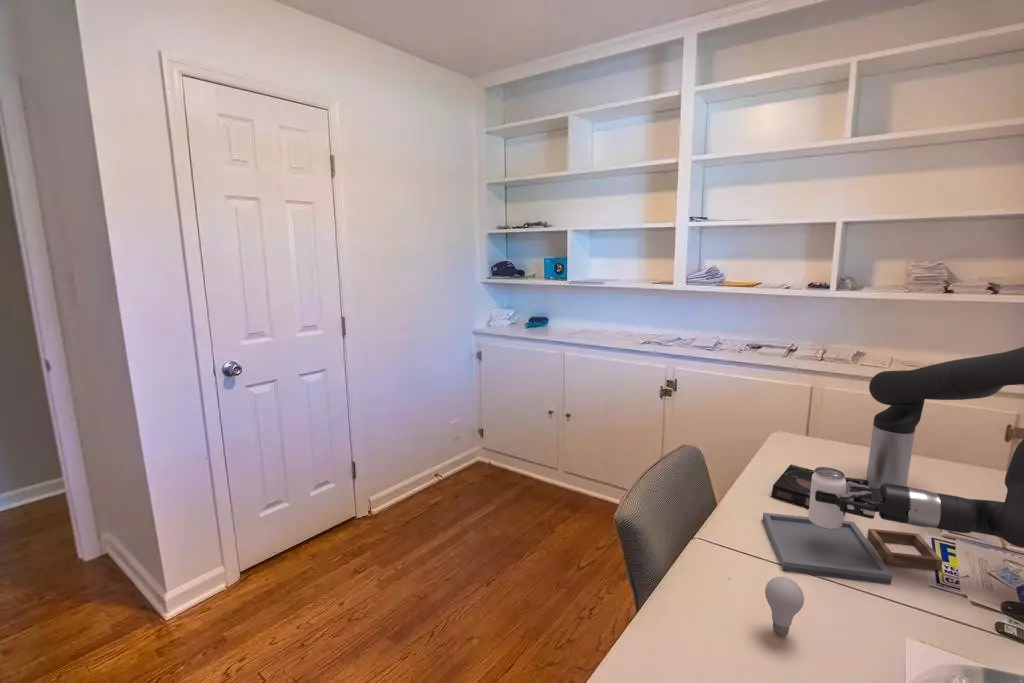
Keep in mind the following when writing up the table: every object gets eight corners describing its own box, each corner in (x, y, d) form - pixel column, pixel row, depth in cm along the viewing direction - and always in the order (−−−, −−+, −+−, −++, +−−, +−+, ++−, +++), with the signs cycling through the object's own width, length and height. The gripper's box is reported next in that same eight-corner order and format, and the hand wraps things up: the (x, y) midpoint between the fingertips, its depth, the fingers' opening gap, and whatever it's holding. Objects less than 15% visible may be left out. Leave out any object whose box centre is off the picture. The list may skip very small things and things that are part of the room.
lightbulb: (754, 622, 96) (759, 570, 93) (786, 620, 96) (791, 568, 94) (773, 648, 90) (779, 593, 87) (807, 645, 90) (813, 590, 88)
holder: (867, 538, 121) (868, 528, 120) (916, 543, 118) (918, 533, 118) (886, 564, 111) (888, 554, 111) (940, 571, 109) (942, 560, 108)
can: (847, 531, 111) (852, 480, 109) (814, 529, 113) (818, 478, 110) (835, 515, 118) (839, 466, 115) (804, 513, 119) (808, 465, 116)
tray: (762, 520, 129) (763, 512, 128) (852, 530, 124) (853, 521, 124) (783, 571, 110) (784, 561, 109) (890, 584, 105) (892, 575, 105)
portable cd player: (771, 499, 140) (772, 485, 139) (789, 476, 152) (790, 464, 151) (841, 521, 129) (843, 506, 128) (855, 495, 141) (856, 481, 140)
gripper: (904, 474, 112) (815, 460, 120) (917, 504, 100) (817, 487, 108) (900, 506, 114) (812, 490, 122) (912, 539, 101) (814, 519, 109)
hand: (815, 488), depth 115 cm, fingers closed on can, 6 cm apart
